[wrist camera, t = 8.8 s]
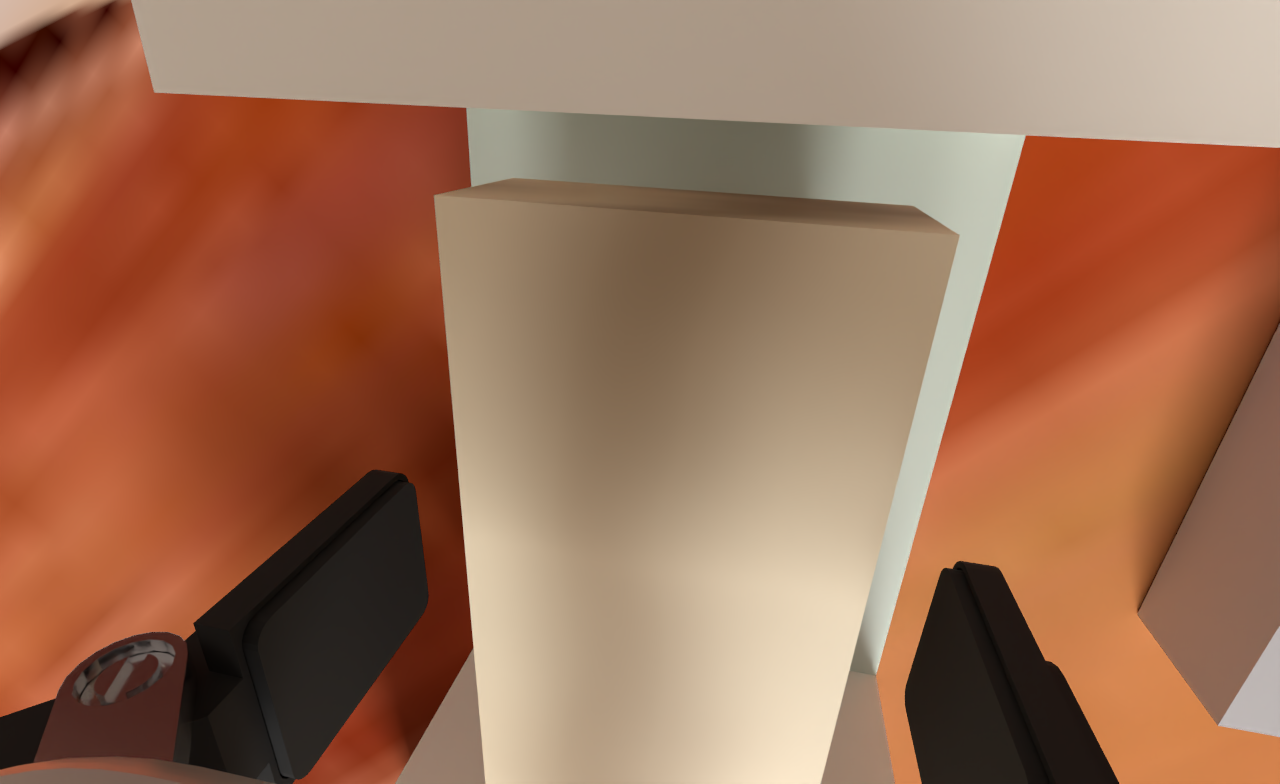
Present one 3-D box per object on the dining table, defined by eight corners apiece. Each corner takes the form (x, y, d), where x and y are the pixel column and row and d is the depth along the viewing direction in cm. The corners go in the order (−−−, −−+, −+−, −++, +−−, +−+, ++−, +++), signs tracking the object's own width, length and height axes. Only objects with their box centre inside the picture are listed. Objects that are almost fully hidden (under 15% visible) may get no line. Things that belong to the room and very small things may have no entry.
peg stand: (1030, 52, 13) (1476, -67, 5) (862, 684, 20) (918, 1064, 12) (480, 37, 15) (114, -66, 7) (511, 616, 22) (358, 904, 14)
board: (914, 205, 9) (959, 235, 7) (784, 795, 14) (785, 923, 12) (513, 177, 10) (433, 195, 8) (533, 738, 15) (491, 847, 13)
